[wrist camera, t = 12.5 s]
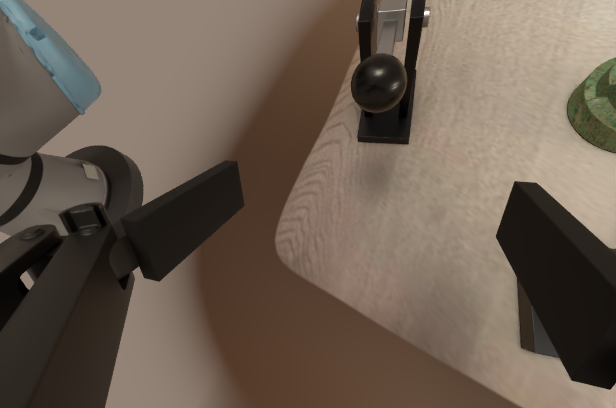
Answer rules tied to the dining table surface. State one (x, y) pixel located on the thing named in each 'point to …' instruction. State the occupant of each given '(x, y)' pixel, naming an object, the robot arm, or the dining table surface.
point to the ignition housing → (532, 328)
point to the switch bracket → (398, 118)
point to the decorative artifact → (596, 107)
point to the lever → (382, 63)
